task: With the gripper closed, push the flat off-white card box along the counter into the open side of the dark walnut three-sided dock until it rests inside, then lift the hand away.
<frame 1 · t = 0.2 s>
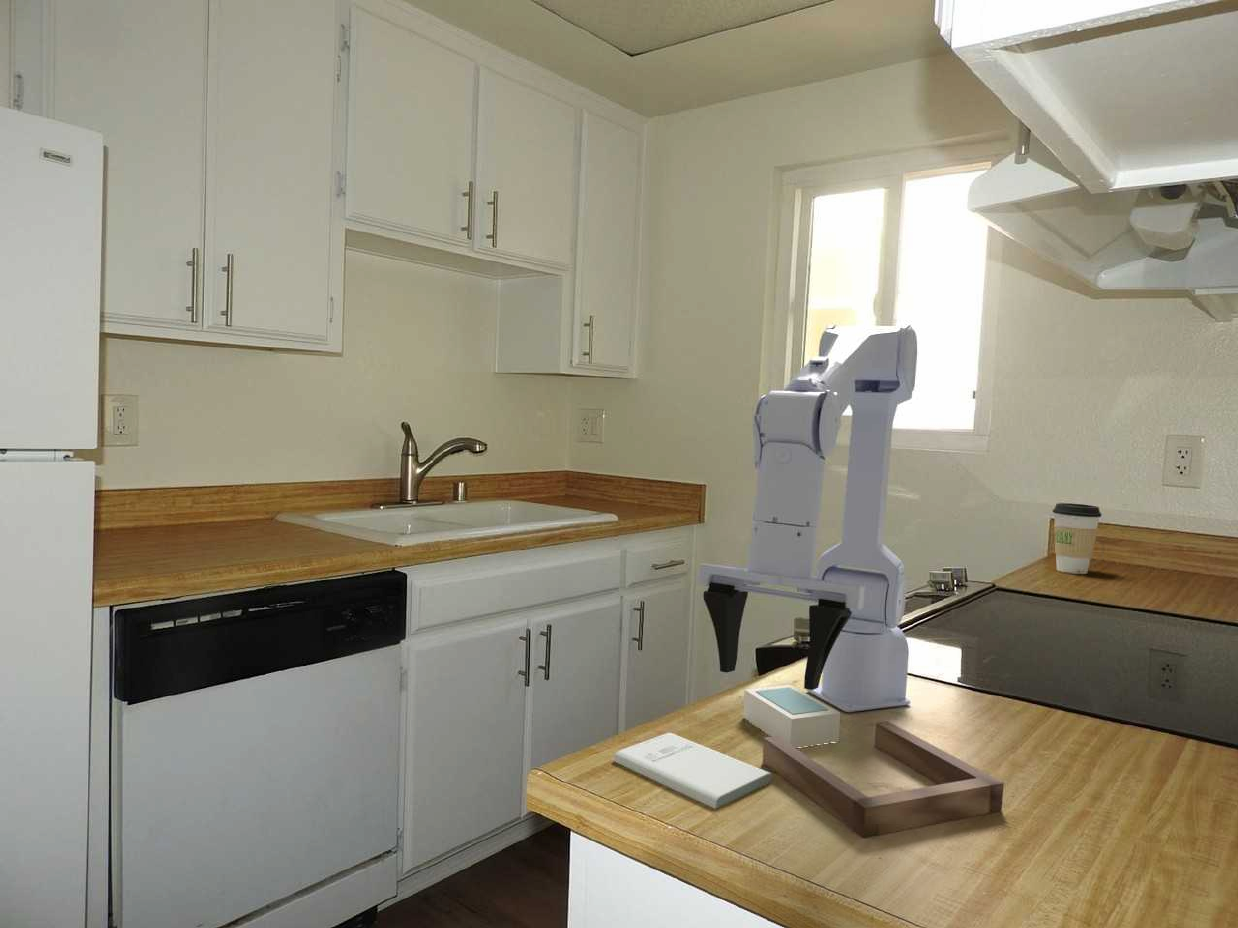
hand: (768, 679, 76), 11 cm above the counter, tool pointing down, fingers open, 7 cm apart
card box: (789, 732, 92), on the counter
dock: (876, 785, 80), on the counter
coffee cup: (1071, 571, 196), on the counter
external hard drive: (690, 779, 81), on the counter
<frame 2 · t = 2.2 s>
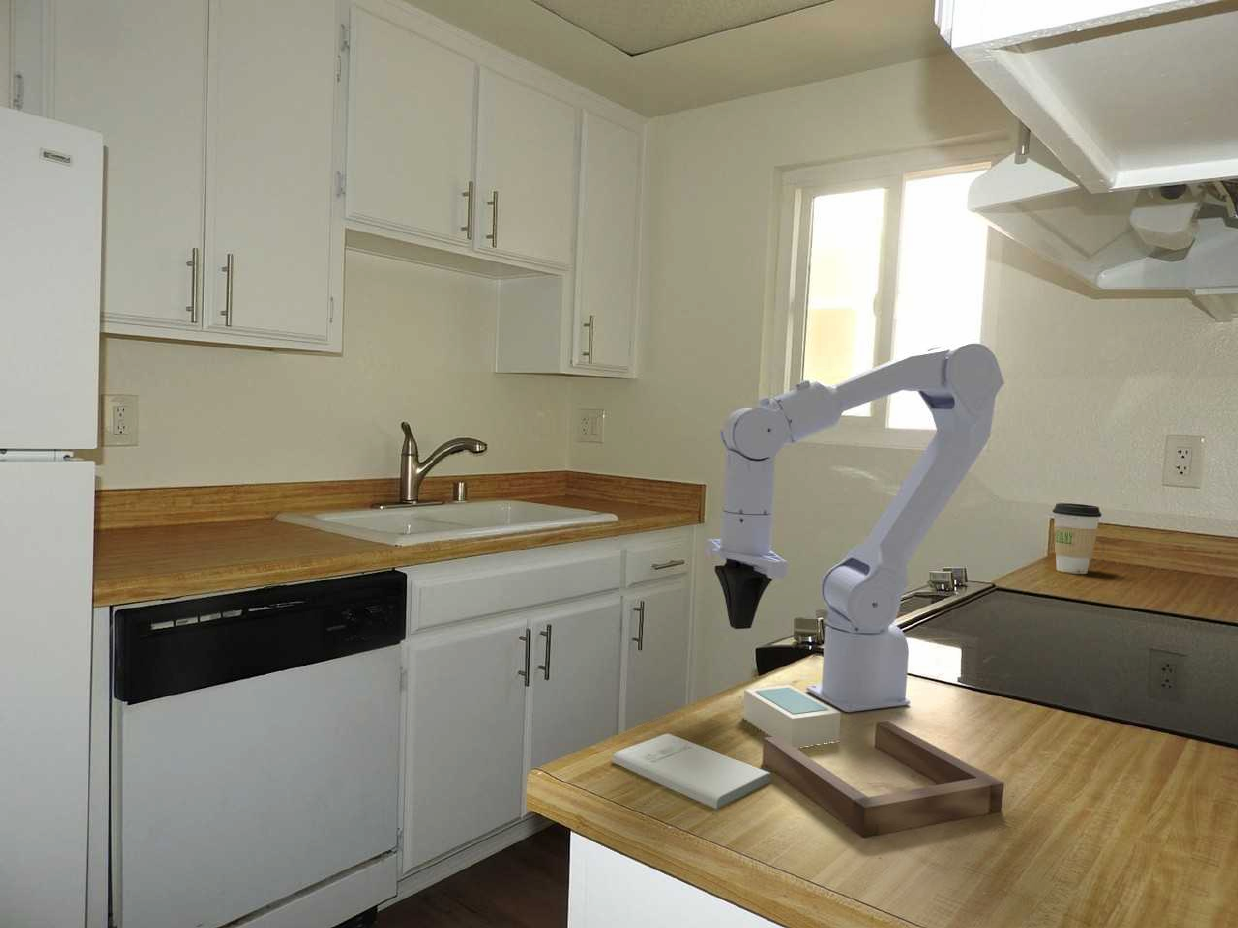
hand: (740, 627, 101), 9 cm above the counter, tool pointing down, fingers closed
nothing on the counter moved.
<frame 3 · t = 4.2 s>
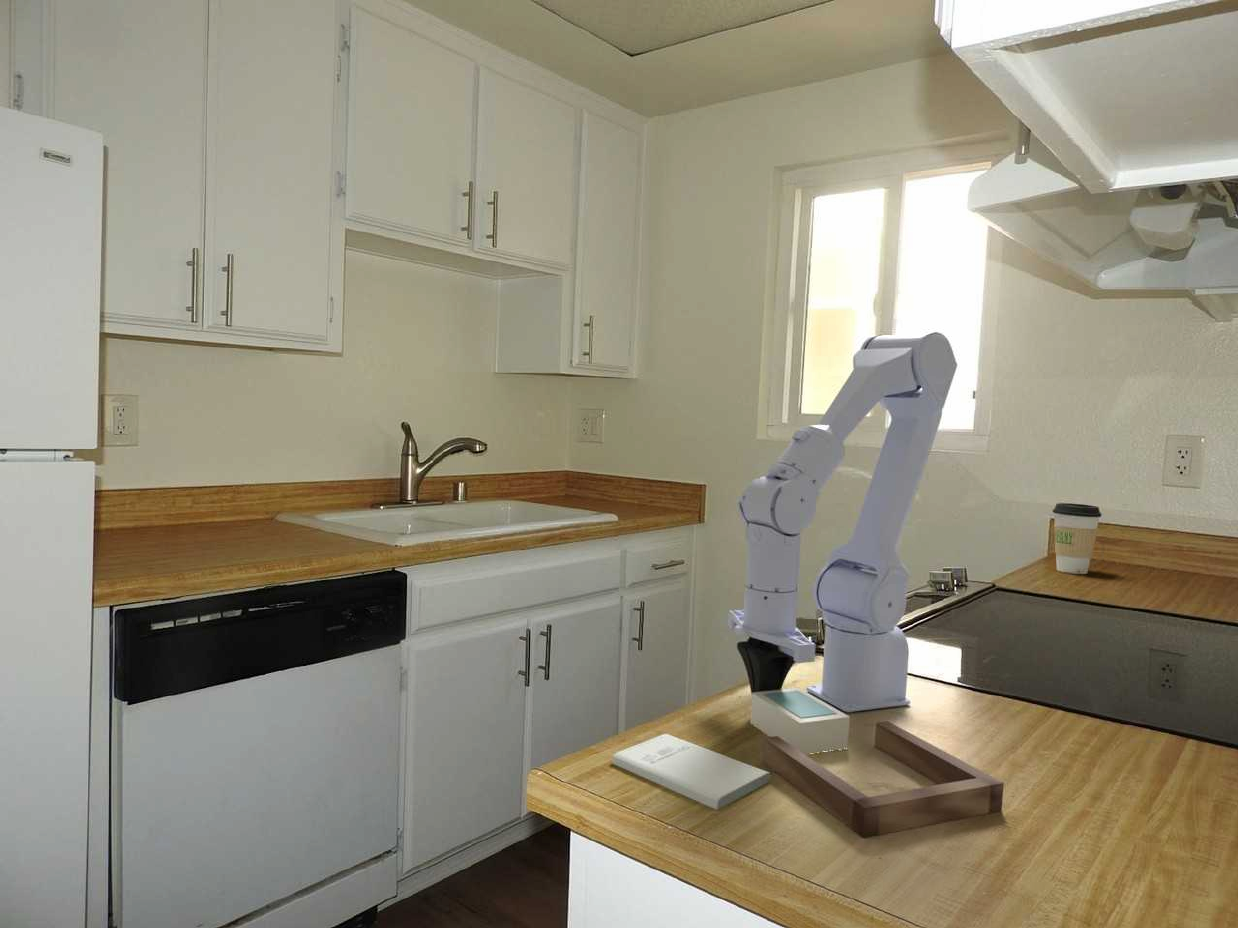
hand: (764, 707, 96), 1 cm above the counter, tool pointing down, fingers closed
card box: (797, 736, 91), on the counter
everything else where it was.
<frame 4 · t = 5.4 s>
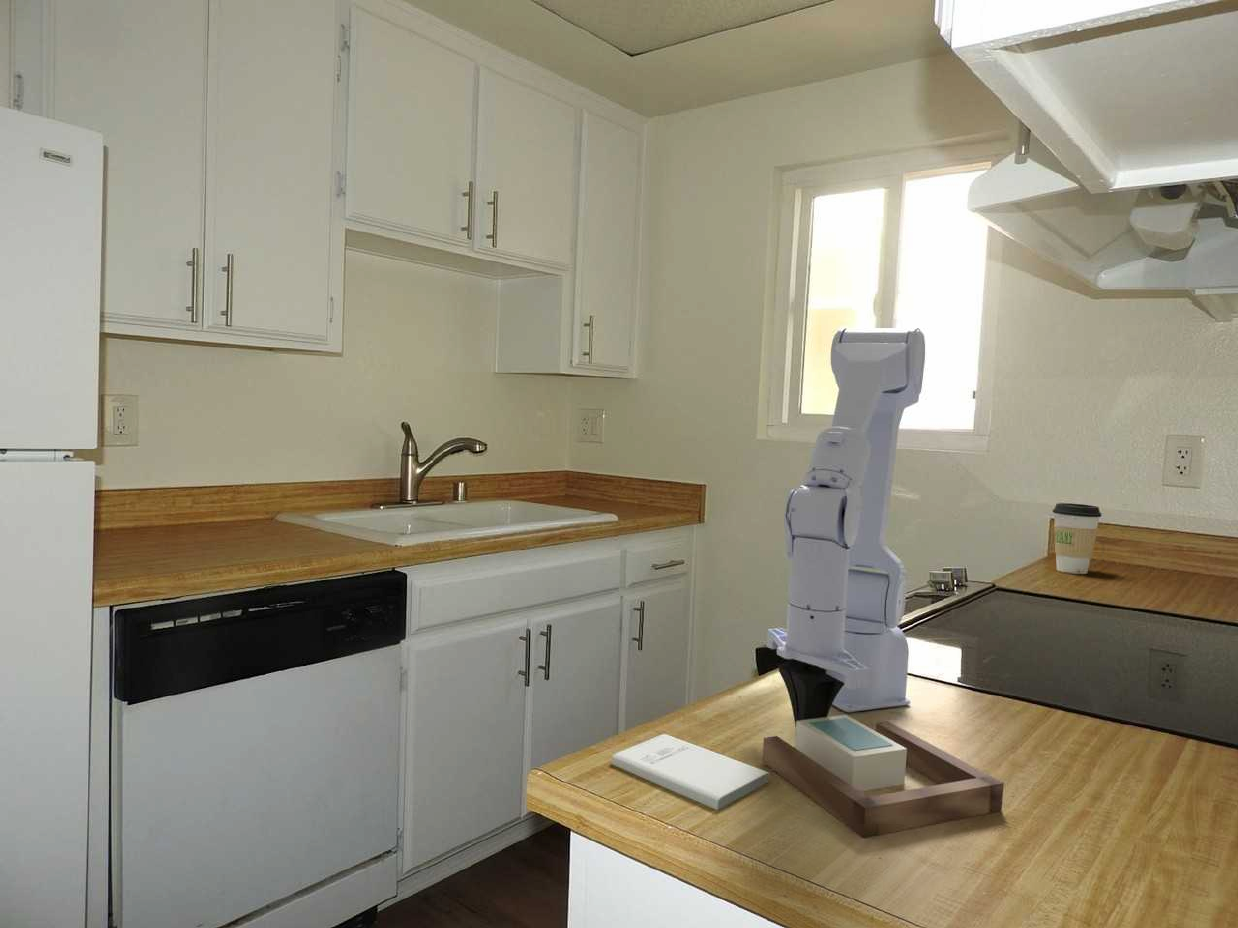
hand: (808, 735, 88), 1 cm above the counter, tool pointing down, fingers closed
card box: (847, 769, 83), on the counter, touching gripper
everything else where it was.
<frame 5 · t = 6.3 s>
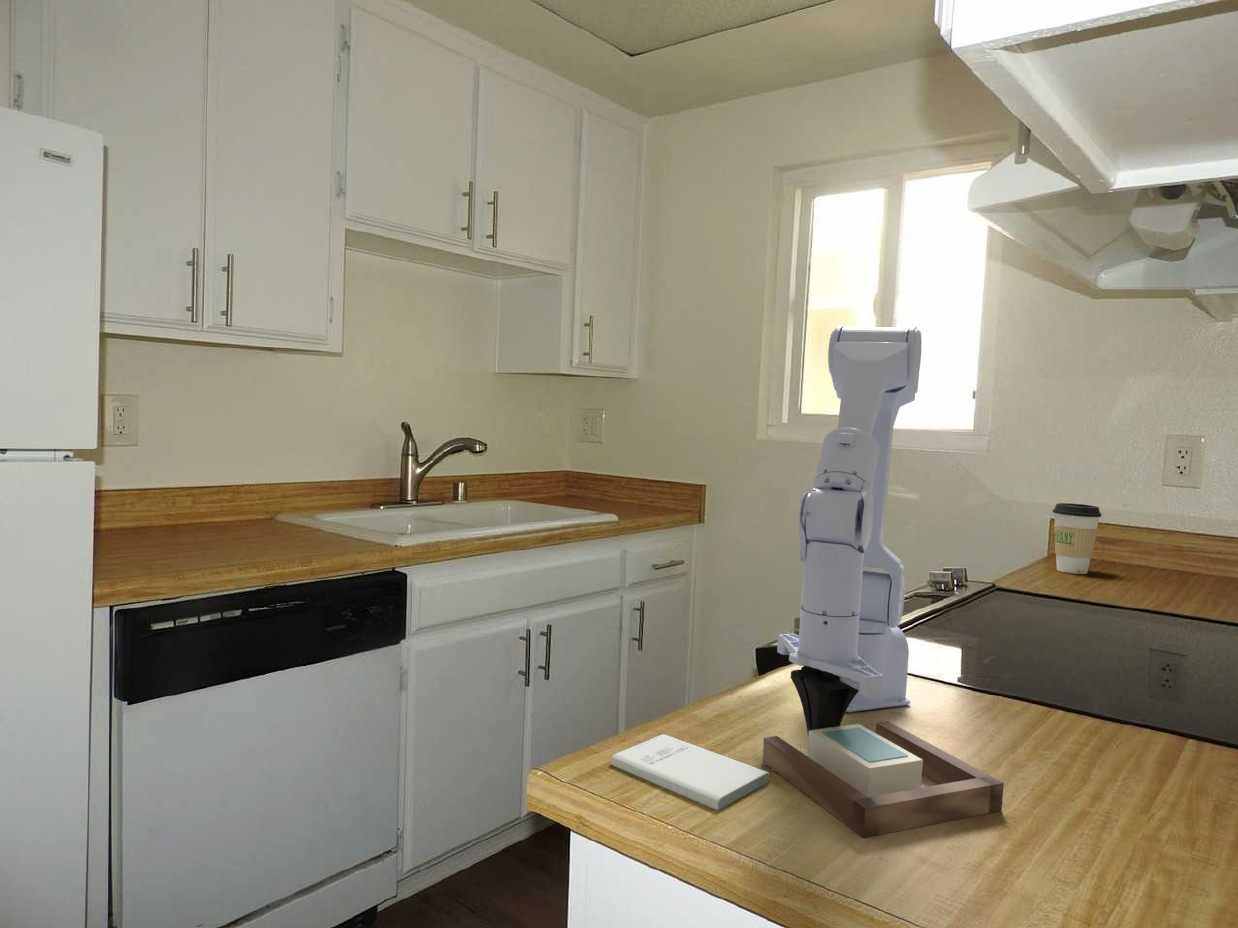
hand: (821, 743, 86), 1 cm above the counter, tool pointing down, fingers closed
card box: (861, 780, 81), on the counter
everything else where it was.
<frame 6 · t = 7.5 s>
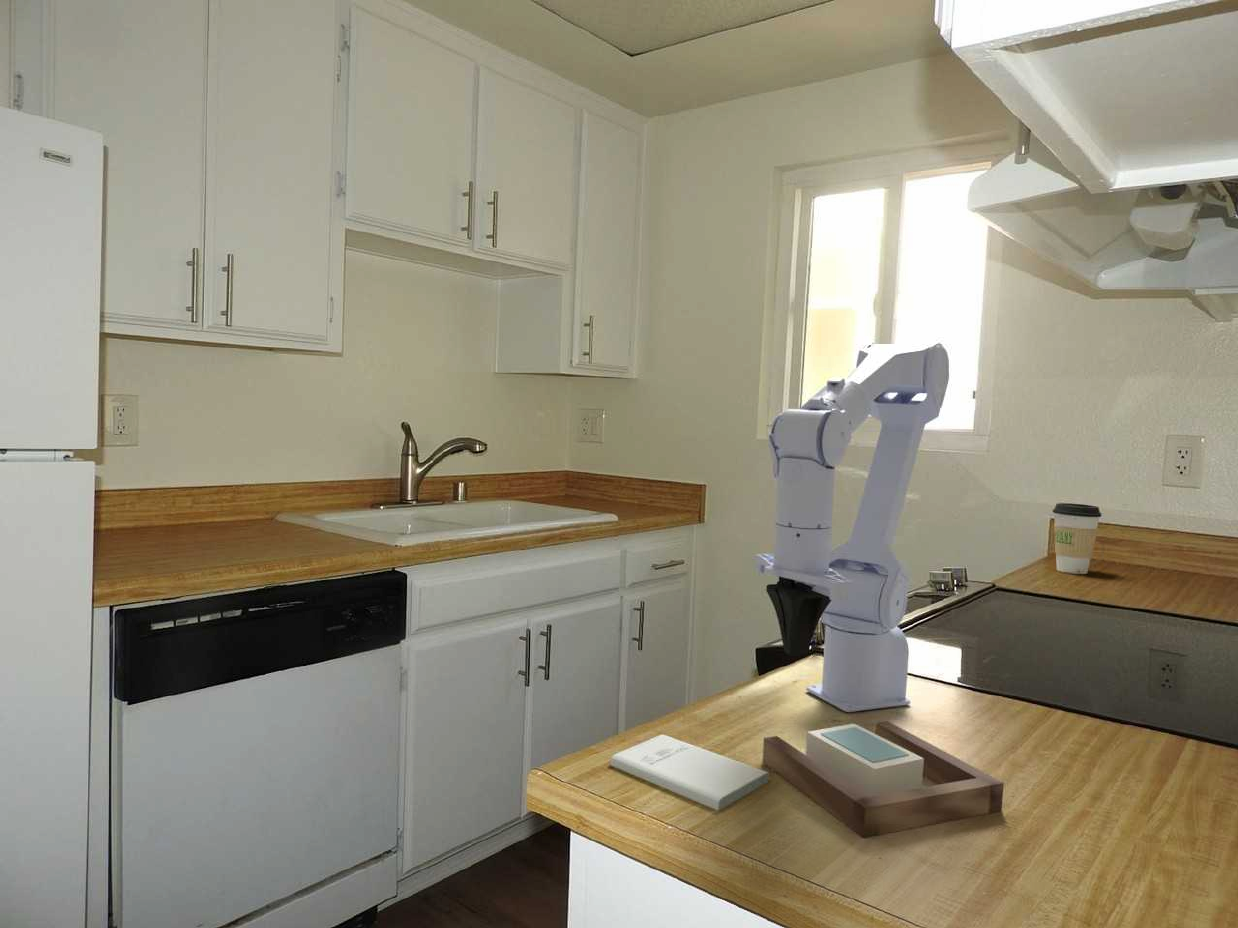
hand: (795, 653, 91), 9 cm above the counter, tool pointing down, fingers closed
nothing on the counter moved.
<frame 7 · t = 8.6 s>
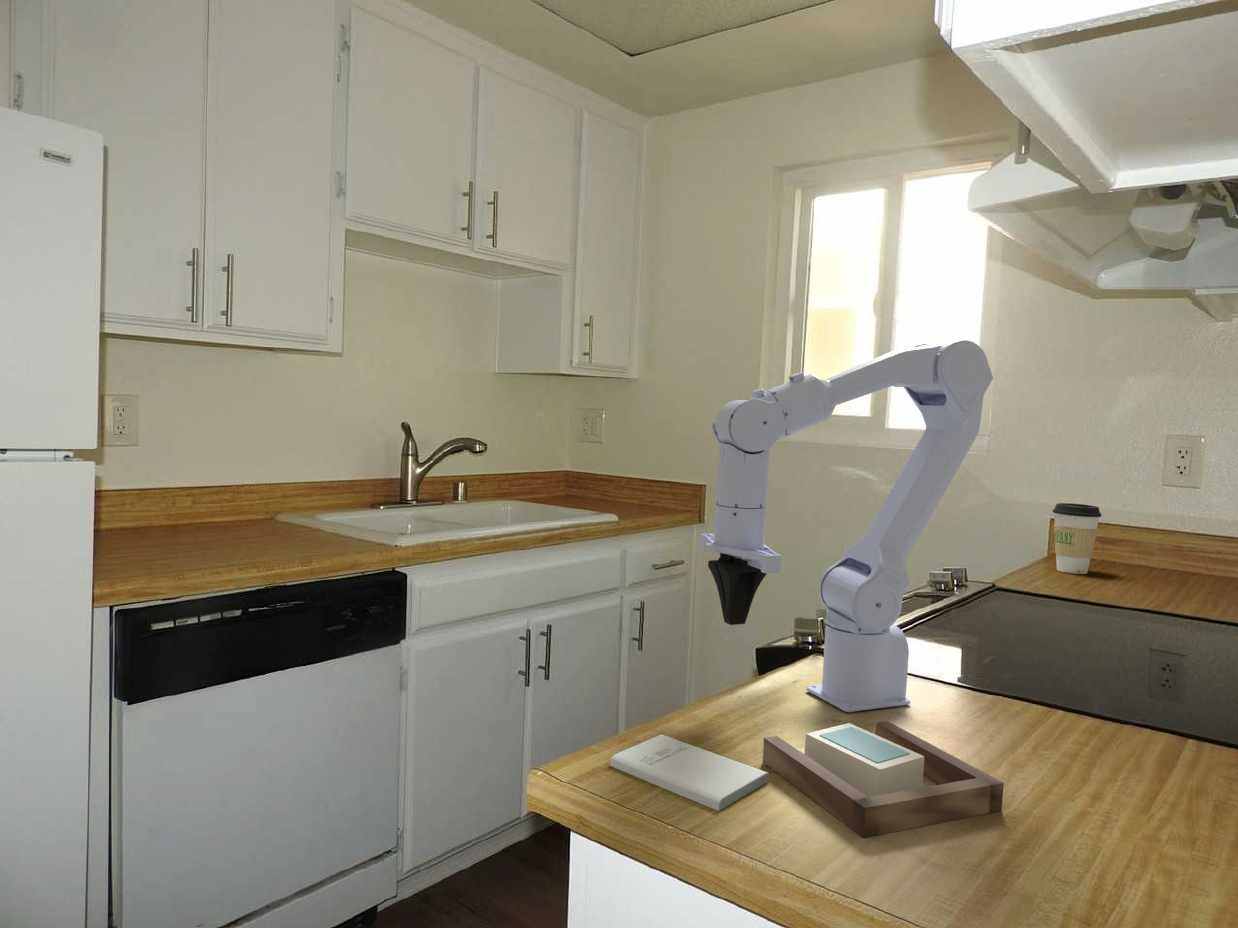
hand: (734, 622, 99), 9 cm above the counter, tool pointing down, fingers closed
nothing on the counter moved.
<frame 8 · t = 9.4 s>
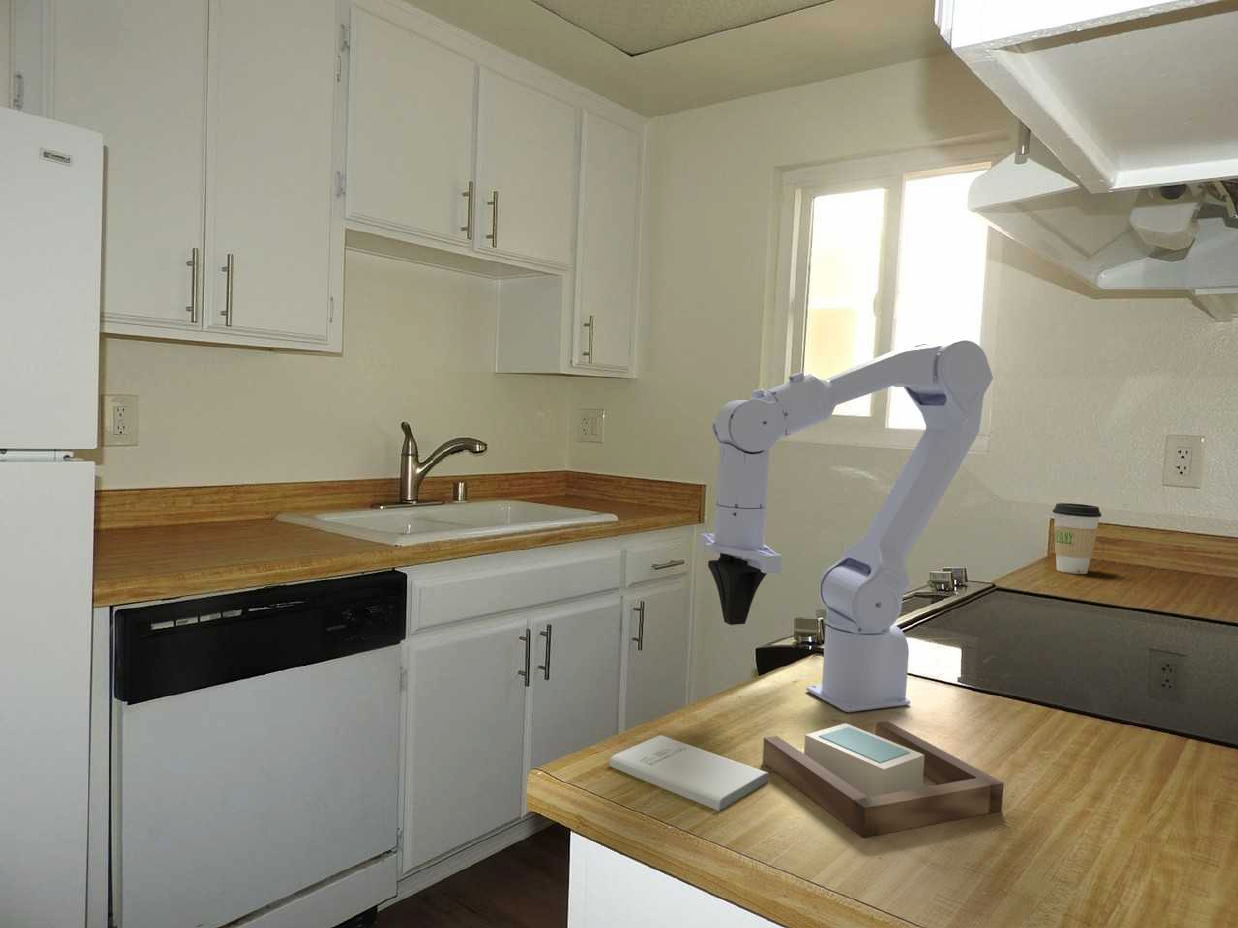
hand: (734, 622, 99), 9 cm above the counter, tool pointing down, fingers closed
nothing on the counter moved.
at the end: card box inside the target area (2.2 cm from its centre), on the counter; card box tilted 0°; external hard drive moved 1.1 cm from its start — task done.
